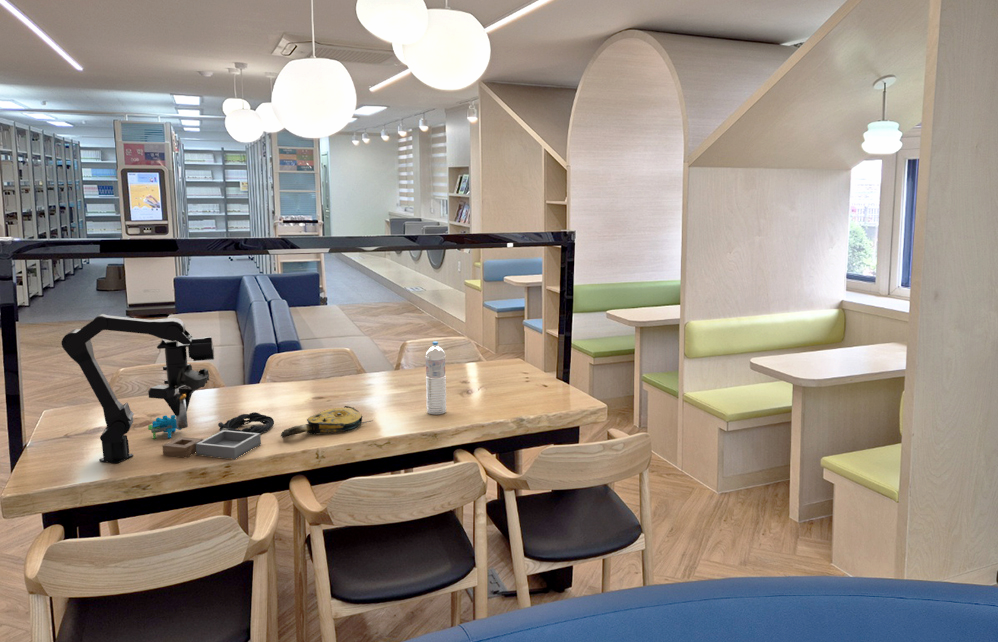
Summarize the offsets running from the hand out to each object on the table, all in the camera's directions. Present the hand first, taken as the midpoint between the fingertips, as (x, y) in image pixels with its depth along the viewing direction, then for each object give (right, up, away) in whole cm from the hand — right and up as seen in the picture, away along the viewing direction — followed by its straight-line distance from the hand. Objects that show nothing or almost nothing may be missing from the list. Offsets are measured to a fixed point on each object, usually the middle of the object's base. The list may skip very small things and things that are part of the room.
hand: (181, 413), depth 217 cm
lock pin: (0, -4, +1) cm, 4 cm away
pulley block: (+37, -8, +22) cm, 44 cm away
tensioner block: (0, -12, +2) cm, 12 cm away
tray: (+13, -11, +4) cm, 17 cm away
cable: (+12, -9, +21) cm, 26 cm away
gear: (-11, -9, +17) cm, 22 cm away
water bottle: (+72, -5, +40) cm, 82 cm away
